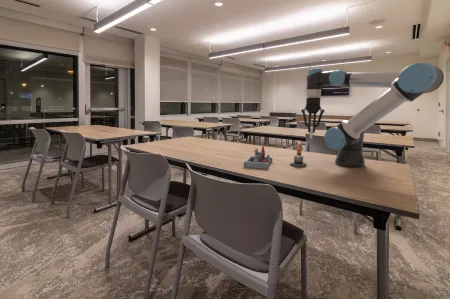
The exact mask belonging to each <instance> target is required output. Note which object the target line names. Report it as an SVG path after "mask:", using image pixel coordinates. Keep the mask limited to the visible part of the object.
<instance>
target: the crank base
mask: <svg viewBox="0 0 450 299" xmlns="http://www.w3.org/2000/svg"><path fill="white" fill-rule="evenodd" d="M289 165H290V166H291V167H296V168H304V167H305V168H306V167H307V162H304V161H303V164H295V163H294V161H291V162H289Z"/></svg>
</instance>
